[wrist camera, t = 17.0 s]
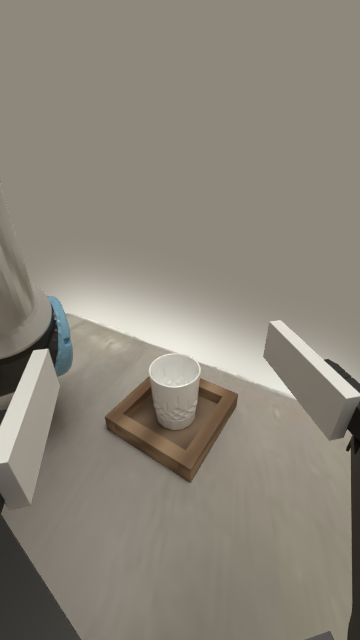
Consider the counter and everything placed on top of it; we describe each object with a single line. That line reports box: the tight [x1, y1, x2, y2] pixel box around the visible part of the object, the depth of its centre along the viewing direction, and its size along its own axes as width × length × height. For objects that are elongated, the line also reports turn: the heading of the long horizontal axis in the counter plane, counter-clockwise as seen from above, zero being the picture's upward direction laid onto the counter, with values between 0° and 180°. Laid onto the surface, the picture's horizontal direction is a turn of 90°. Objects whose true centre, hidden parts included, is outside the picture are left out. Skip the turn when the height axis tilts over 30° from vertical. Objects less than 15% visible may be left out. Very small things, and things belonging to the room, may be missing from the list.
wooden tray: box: [105, 376, 238, 482], centre depth 46 cm, size 16×16×3 cm
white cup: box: [149, 353, 201, 430], centre depth 44 cm, size 8×8×10 cm
